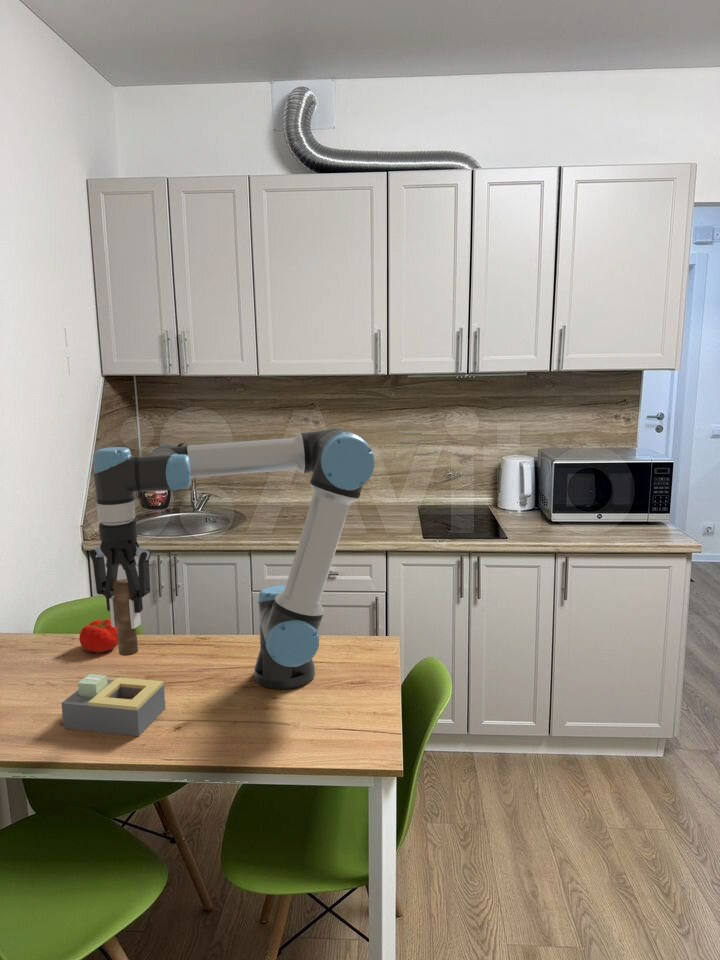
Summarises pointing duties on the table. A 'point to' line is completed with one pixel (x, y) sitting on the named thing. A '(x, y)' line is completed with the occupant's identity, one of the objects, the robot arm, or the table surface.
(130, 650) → the rounded rod
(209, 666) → the table surface
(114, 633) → the tomato
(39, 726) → the table surface
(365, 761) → the table surface
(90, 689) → the on button
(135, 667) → the table surface
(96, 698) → the breaker box
